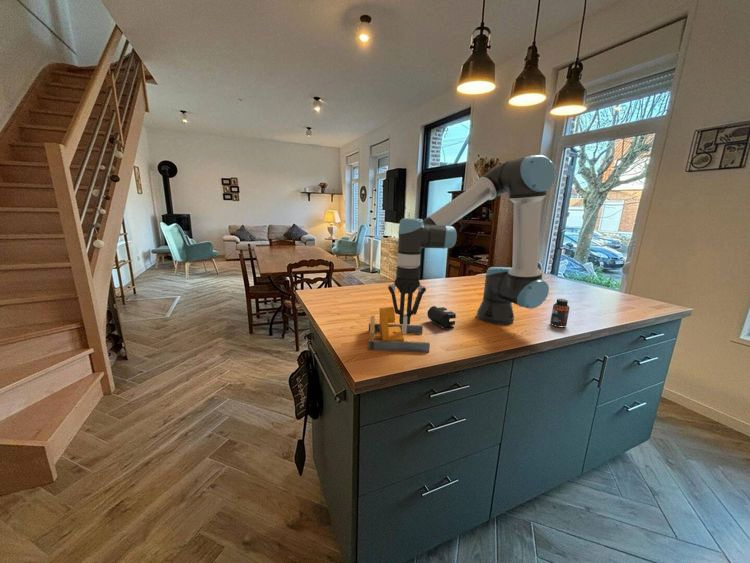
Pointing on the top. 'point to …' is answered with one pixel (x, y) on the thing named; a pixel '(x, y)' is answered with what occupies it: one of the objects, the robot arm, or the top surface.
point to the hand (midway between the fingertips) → (403, 332)
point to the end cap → (441, 317)
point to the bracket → (389, 332)
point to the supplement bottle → (560, 313)
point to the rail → (396, 344)
